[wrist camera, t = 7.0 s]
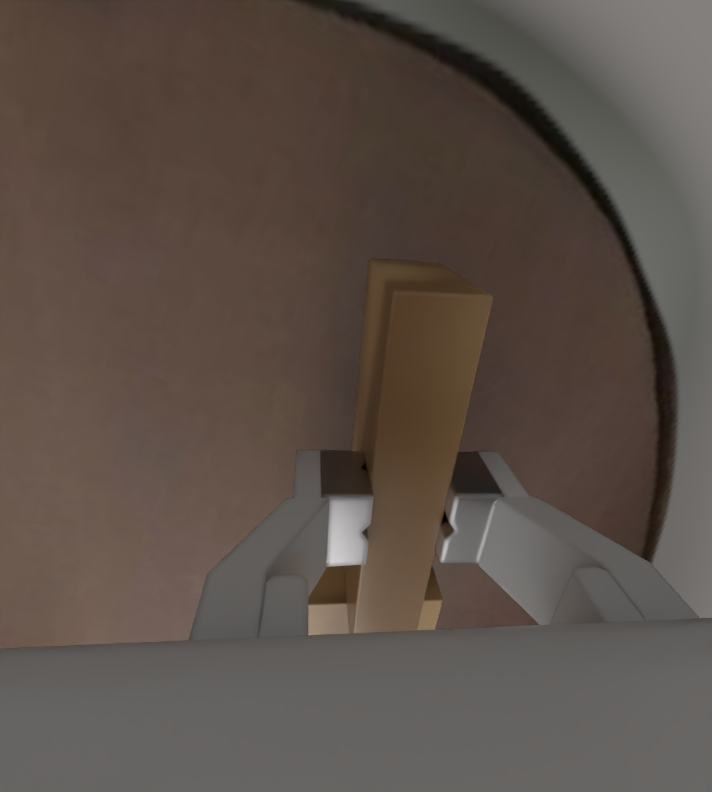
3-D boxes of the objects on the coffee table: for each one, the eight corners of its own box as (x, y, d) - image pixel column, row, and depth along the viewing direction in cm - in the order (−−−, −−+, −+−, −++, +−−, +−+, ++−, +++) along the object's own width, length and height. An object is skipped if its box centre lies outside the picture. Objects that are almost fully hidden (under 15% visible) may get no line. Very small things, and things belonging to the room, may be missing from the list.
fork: (493, 265, 9) (568, 300, 6) (395, 707, 17) (410, 802, 15) (311, 254, 9) (311, 285, 6) (300, 712, 17) (297, 812, 14)
